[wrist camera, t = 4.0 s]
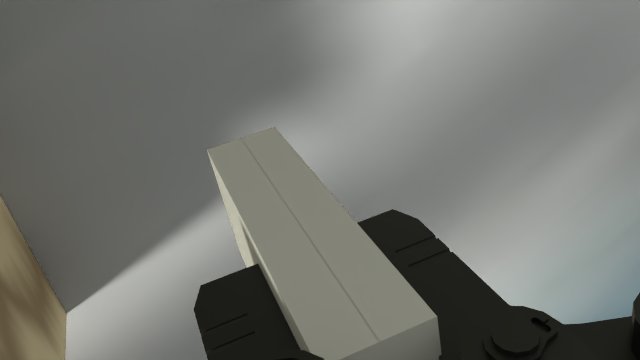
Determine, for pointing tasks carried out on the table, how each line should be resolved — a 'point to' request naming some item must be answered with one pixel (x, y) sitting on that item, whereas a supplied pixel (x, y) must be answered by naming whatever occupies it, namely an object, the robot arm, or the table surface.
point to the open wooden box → (26, 301)
